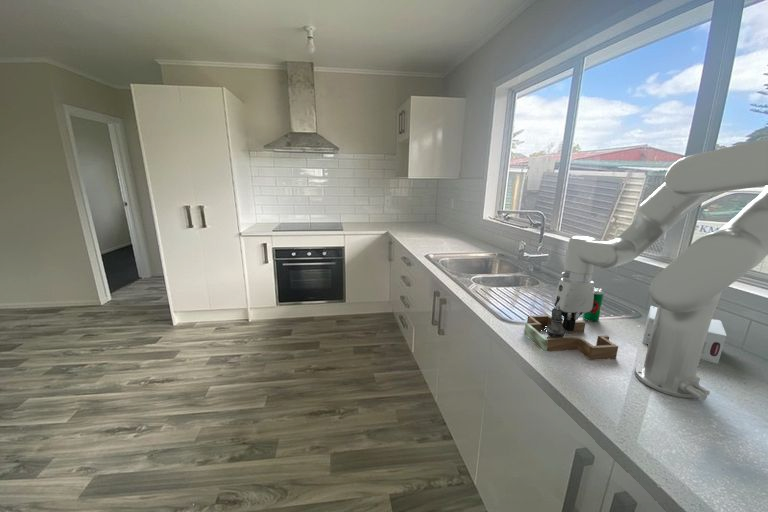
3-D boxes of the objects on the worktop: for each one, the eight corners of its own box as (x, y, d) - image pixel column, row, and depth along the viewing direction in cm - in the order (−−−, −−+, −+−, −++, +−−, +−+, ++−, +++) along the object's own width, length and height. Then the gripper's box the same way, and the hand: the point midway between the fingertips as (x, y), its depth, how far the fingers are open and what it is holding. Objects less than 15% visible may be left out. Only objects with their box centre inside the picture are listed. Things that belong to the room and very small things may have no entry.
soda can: (601, 322, 111) (607, 291, 109) (588, 322, 112) (593, 291, 109) (592, 316, 116) (598, 287, 113) (579, 316, 116) (584, 287, 114)
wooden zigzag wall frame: (622, 358, 89) (624, 346, 88) (554, 362, 87) (556, 349, 86) (571, 324, 110) (572, 314, 109) (516, 326, 108) (517, 316, 107)
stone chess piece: (567, 345, 95) (569, 310, 92) (547, 343, 97) (548, 309, 94) (564, 335, 101) (565, 302, 98) (544, 334, 103) (545, 301, 100)
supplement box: (642, 344, 97) (648, 317, 95) (644, 329, 106) (649, 304, 104) (719, 365, 86) (728, 335, 84) (713, 346, 95) (721, 319, 93)
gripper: (562, 280, 90) (552, 335, 94) (609, 279, 91) (598, 334, 95) (547, 272, 97) (539, 324, 102) (591, 271, 98) (581, 323, 103)
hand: (567, 329), depth 98 cm, fingers closed
